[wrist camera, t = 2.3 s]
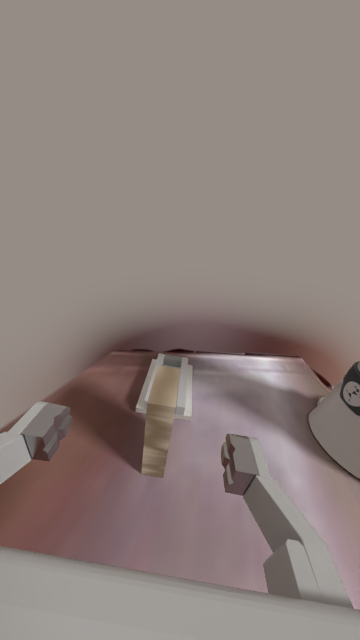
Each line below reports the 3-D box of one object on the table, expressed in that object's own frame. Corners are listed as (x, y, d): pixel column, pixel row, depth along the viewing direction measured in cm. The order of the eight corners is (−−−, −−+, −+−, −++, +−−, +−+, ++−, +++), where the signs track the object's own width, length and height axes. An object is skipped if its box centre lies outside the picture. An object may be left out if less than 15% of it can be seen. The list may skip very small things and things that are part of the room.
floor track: (191, 369, 46) (194, 358, 44) (190, 421, 33) (193, 408, 32) (152, 362, 46) (153, 352, 45) (135, 412, 33) (136, 399, 32)
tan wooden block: (168, 434, 31) (180, 368, 24) (162, 477, 25) (175, 407, 19) (150, 431, 31) (157, 365, 25) (141, 474, 25) (147, 403, 19)
